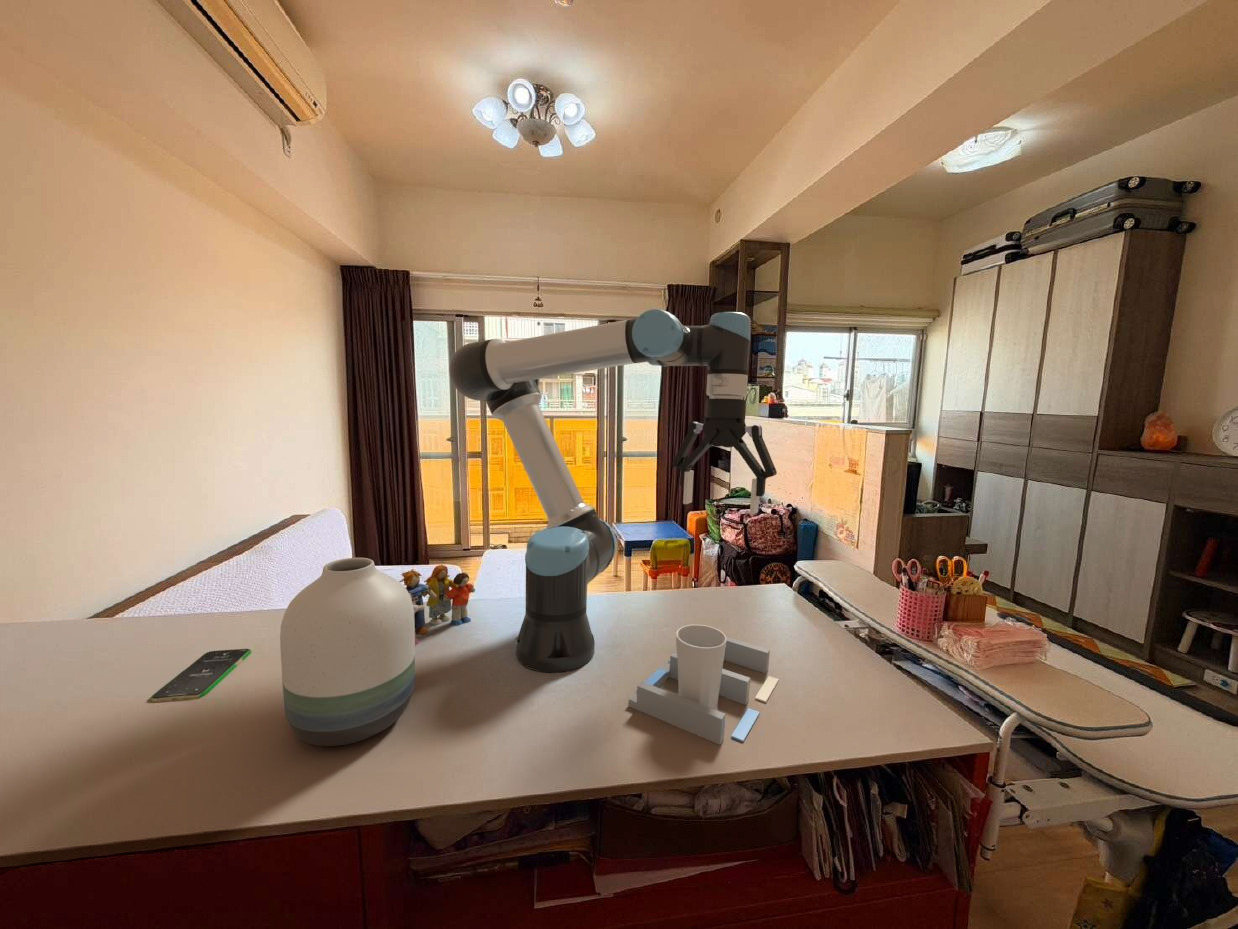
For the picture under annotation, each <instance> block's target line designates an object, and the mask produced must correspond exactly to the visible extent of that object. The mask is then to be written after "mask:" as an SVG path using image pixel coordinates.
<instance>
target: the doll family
mask: <svg viewBox="0 0 1238 929" xmlns="http://www.w3.org/2000/svg"><path fill="white" fill-rule="evenodd" d="M400 576H401V577H403V578H402V579H401V580H398V581H399V582H400V583H404V584H403V586H406V587H405V588H406V589H407V591H408V593H409V595H410V597H411V600H412V603H413V608H414V623H415V637H416V636H417V634H418V635H423V634H425V633H427V632H428V631H429V630H428V628H427V627H425V626H426V617H425V604H424V600H423V597H424V598H425V597H426V596H427V595H428V598H427V601H426V607H429V608H428V609H429V610H428V618H429V619H430V621H429V624H431V625H434V626H439V625H441V624H442V623H445V622H449V621H450V620H451V621H450V624H451V625H452V626H456V627H457V626H460V625H462V624H469V623H471V621H472V619H471V618H470V617H469V613H468V604H469V598H470V594H471V593H472V594H473V593H475V592H476V589H475V586H474V585H475V584H473V583H468V582H469V579H470V576H469V575H468V574H467V572H459V573H457V574H456V575H455V577H453V579H451V578H450V576H451V575H449V570H448V566H446V565H443V564H440V565H436V566H435V567H434V569H433V570H432V572H431V575H430V576H429V577H427V579H425V580H424V581H423V583H425V584H423V583H420V581H421V580H420V579H421V578H420V577H422V574H421V573H420V572H418V571H417V570H414V568H412V569H411V570H407V571H406V572H402V573H401V574H400ZM450 588H451V589H450ZM449 612H451V618H450V617H449V616H448V615H446V614H447V613H449ZM418 644H419V639H417V638H415V646H416V645H418Z"/></svg>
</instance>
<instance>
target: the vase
mask: <svg viewBox="0 0 1238 929" xmlns="http://www.w3.org/2000/svg"><path fill="white" fill-rule="evenodd" d="M399 581H400V580H397V579H396V578H394V577H392V576H391V575H389V574H387V573H385V572H382V571H380V570H379V569H377V567H376V565H375V562H374V560H373V559H370V558H367V557H350V558H342V559H336V560H333V561H330V562H328V563H326V564H325V565H323V567H322V573H321V575H320V576H319V577H318V578H317V579H315V580H314V581H312V582H311V583H310V584H308V585H307V586H306V587H304V588H303V589H302V590H300V592H298V593H297V595H295V597H293V599H291V601H290V603H289V604H288V605H287V608H286V609H285V611H284V614H283V616H282V619H281V624H280V632H279V633H280V634H279V636H280V638H279V642H280V644H279V645H280V661H281V662H280V666H281V678H282V679H281V680H282V683H281V684H282V694H283V696H282V697H283V708H284V714H285V718H286V721H287V724H288V725H289V727H290V729H291V731H292V732H293V733H294V734H295V736H296V737H298V739H300V740H301V741H304V742H305V743H308V744H310V745H315V746H321V747H322V746H323V747H337V746H344V745H350V744H355V743H358V742H361V741H363V740H366V739H369V738H371V737H373V736H376V735H377V734H380V733H381V732H383V731H384V730H386V729H388V728H389V727H390V726H392V725H393V724H394V723H396V721H397V720H398V719H400V717H401V716H402V715H403V714H404V713H405V711H406V710H407V708H408V705H409V704H410V701H411V700H412V696H413V693H414V689H415V684H416V683H415V681H416V645H415V639H416V636H415V633H416V632H415V630H416V629H415V623H414V608H413V603H412V600H411V597H410V595H409V593H408V591H407V589H406V587H405V585H404V584H402V582H399Z"/></svg>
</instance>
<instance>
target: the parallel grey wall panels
mask: <svg viewBox="0 0 1238 929" xmlns="http://www.w3.org/2000/svg"><path fill="white" fill-rule="evenodd" d="M726 638H727V642H726V648H725V655H724V661H726V662H729V663H732V664H735V665H738V666H741V667H745V668H748V669H751V670H754V671H756V672H759V673H763V674H767V673H768V671H769V667H770V666H769V664H770V652H771V651H770V649H769V648H765V647H762V646H759V645H755V644H752V643H749V642H746V641H742V640H738V639H735V638H732V637H729V636H726ZM669 678H672V679H674V680H676V681H678V658H677V652H673V653H671V654H670V655H669V659H668V660H667V662H666V663H665V664H664V665H663V666H662V667H661V668H659V669H657V671H655V672H654V673H653V674H652V675H651V676H650V677H649V678H648V679H646V681H641V682H639V684H638V685H637V687H636V691H635V692H634V694H632V695H631V696H630V697H629V698H628V702H627V703H628V704H627V706H628V707H629V708H631V709H634V710H636V711H638V712H641V713H643V714H645V715H648V716H650V717H652V718H655V719H658V720H660V721H663V722H664V723H667V724H669V725H672V726H675V727H676V728H679V729H682V730H684V731H685V732H688V733H690V734H693V735H695V736H698V737H701V738H702V739H704V738H705V739H704V740H707V741H710V742H712V743H714V744H717V745H719V746H721V745H722V743H723V741H724V740H725V727H726V726H725V725H726V713H724V712H722V711H719V710H718V709H717V710H714V709H712V708H709V707H707V706H704V705H701V704H699V703H696V702H694V701H691V700H688V699H686V698H683V697H681V696H678V695H679V694H678V695H677V694H675V693H674V692H673V693H672V692H670V691H667V690H665V689H662V688H660V687H661V685H663V683H665V682H666V680H667V679H669ZM779 680H780V679H779V678H776V677H773V676H770V675H768V676H767V678H766V679H765V681H764V683H763V684H762V686H761V687H760V689H759V691H758V692H757V693H756V695H755V697H754V700H756V701H758V702H759V701H760V702H762V703H767V702H768V700H769V699H770V697H771V695H772V693H773V691H774V690H775V687H777V685H778V683H779ZM750 684H751V677H749V676H746V675H743V674H740V673H737V672H734V671H730V670H728V669H725V668H722V675H721V682H720V689H719V696H720V697H724V698H726V699H728V700H730V701H731V700H732V701H734V702H737V703H740V704H742V705H745V706H746V705H747V704H748V702H749V701H750V698H749V697H750V688H751V685H750ZM760 714H761V713H760V711H758V710H754V709H752V708H749V707H748V708H747V710H746V711H745V713H744V715H743V716H742V718H741V720H740V721H739V723H738V724H737V726H736V728H735V729H734V730H733V732H732V734H731V737H730V738H732V739H734V740H736V741H739V742H741V743H744V742H745V740H746V739H747V737H748V735H749V734H750V731H751V730H752V728H753V726H754V725H755V722H756V721H757V719H758V717H759V716H760Z"/></svg>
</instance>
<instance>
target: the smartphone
mask: <svg viewBox="0 0 1238 929" xmlns="http://www.w3.org/2000/svg"><path fill="white" fill-rule="evenodd" d="M251 653H252V650H251V649H250V648H238V649H236V648H235V649H222V650H209V651H208V652H206V653H204V654H202V655H201V656H200V657H199V658H198V659H196V660H195V661H194V662H193V663H192V664H190V665H189V666H187V667H186V668H185V669H183V671H181V672H180V673H179V674H177V675H176V676H175V677H173V678H172V679H170V680H169V681H168V682H166V684H164V685H163V686H162V687H161V688H160V689H159V690H157V691H156V692H154V693H153V694H152V695H151V696H150V698H149V702H151V703H152V702H154V703H156V702H159V703H160V702H169V701H183V700H184V701H185V700H193V699H200V698H203V697H205V696H206V695H208V694H209V693H210V692H211V691H212V690H213V689H214V688H215V687H216V686H218V684H220V683H221V682H222V681H223V680H224V679H225V678H226V677H227V676H228V675H230V673H231V672H232V671H233V670H235V669H236V668H237V666H238V665H239V664H240V663H242V661H243V662H244V661H245V659H247V658H248V657H249V656H250V654H251Z"/></svg>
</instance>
